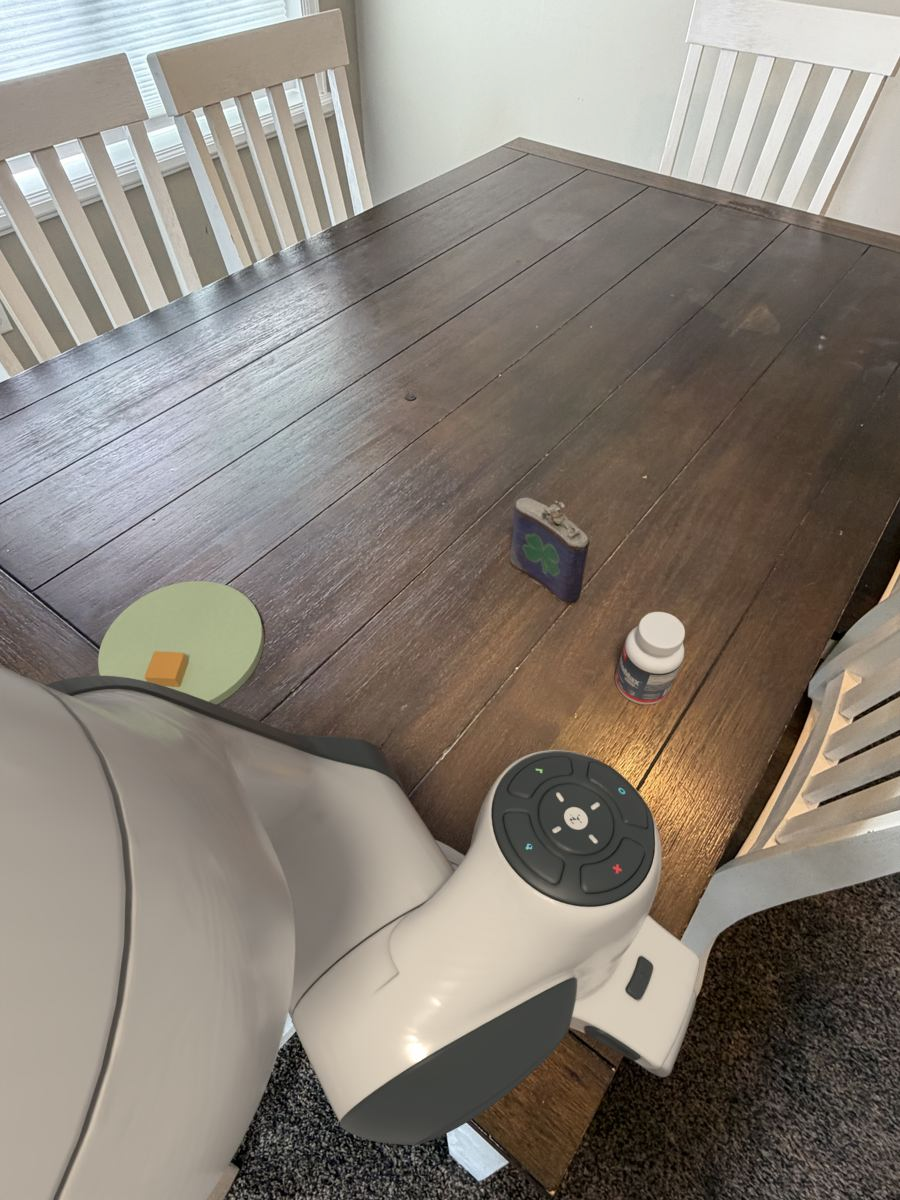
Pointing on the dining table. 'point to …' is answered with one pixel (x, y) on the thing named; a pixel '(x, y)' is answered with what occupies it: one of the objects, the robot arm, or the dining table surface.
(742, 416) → the dining table surface
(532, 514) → the flask
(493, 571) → the dining table surface
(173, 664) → the orange square block
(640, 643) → the pill bottle
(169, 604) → the plate
